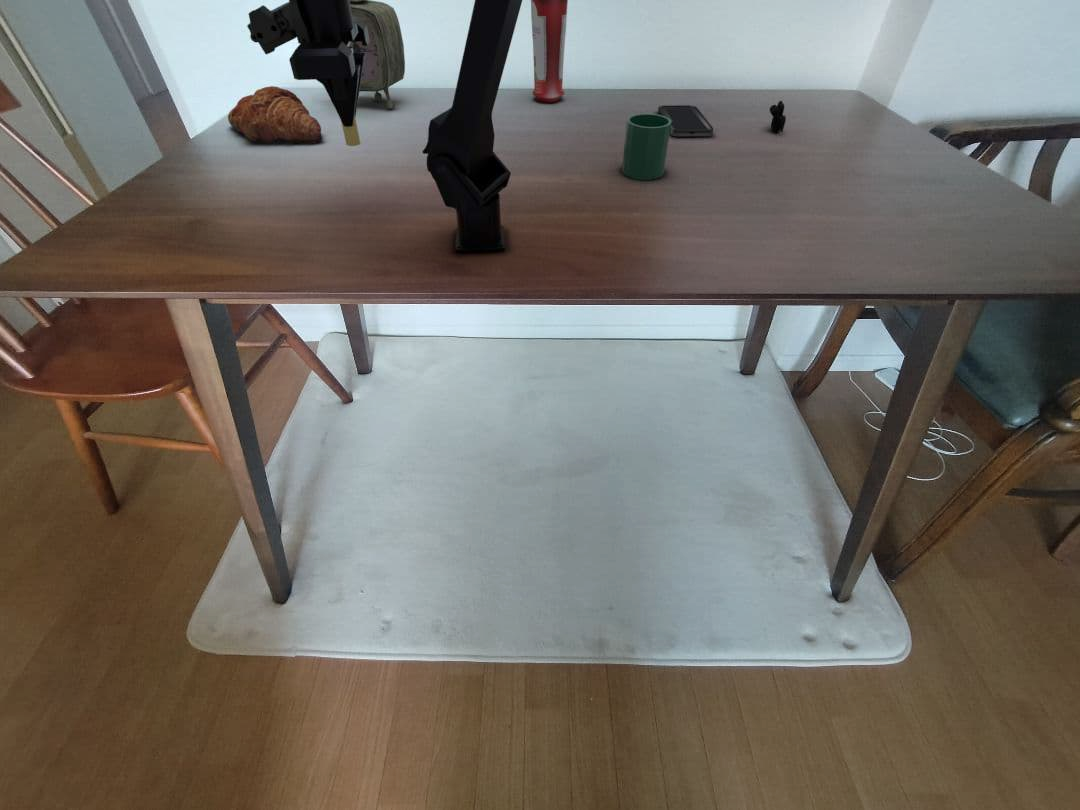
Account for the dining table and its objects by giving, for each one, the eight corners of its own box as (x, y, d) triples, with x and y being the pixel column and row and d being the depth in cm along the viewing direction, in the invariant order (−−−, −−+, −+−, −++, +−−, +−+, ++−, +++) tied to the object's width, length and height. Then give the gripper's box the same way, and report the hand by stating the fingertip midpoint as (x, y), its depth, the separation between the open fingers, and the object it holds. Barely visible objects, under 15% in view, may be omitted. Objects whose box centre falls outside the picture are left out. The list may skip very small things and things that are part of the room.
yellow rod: (359, 146, 75) (343, 68, 69) (345, 146, 75) (327, 68, 69) (361, 141, 76) (345, 64, 70) (347, 141, 76) (330, 64, 70)
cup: (667, 179, 93) (676, 127, 88) (626, 180, 93) (632, 128, 87) (658, 163, 98) (665, 113, 93) (618, 164, 98) (623, 114, 92)
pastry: (224, 153, 101) (206, 103, 96) (232, 125, 112) (216, 79, 106) (323, 143, 105) (311, 95, 99) (322, 117, 115) (311, 72, 110)
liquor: (527, 96, 126) (525, -69, 107) (558, 93, 128) (562, -70, 109) (537, 105, 121) (536, -66, 102) (569, 102, 123) (575, -67, 104)
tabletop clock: (333, 106, 121) (299, -45, 103) (355, 94, 127) (327, -50, 110) (395, 113, 118) (371, -42, 100) (415, 100, 124) (395, -47, 107)
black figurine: (782, 137, 108) (790, 108, 104) (769, 136, 108) (776, 107, 104) (775, 124, 113) (782, 96, 109) (762, 124, 113) (769, 96, 109)
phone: (695, 105, 118) (714, 130, 107) (694, 111, 118) (713, 136, 108) (657, 105, 117) (672, 130, 106) (656, 111, 118) (671, 136, 107)
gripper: (262, -37, 69) (299, 104, 80) (215, -13, 56) (267, 152, 67) (356, -39, 70) (380, 101, 81) (332, -16, 57) (365, 148, 67)
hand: (349, 123), depth 74 cm, fingers closed on yellow rod, 2 cm apart
